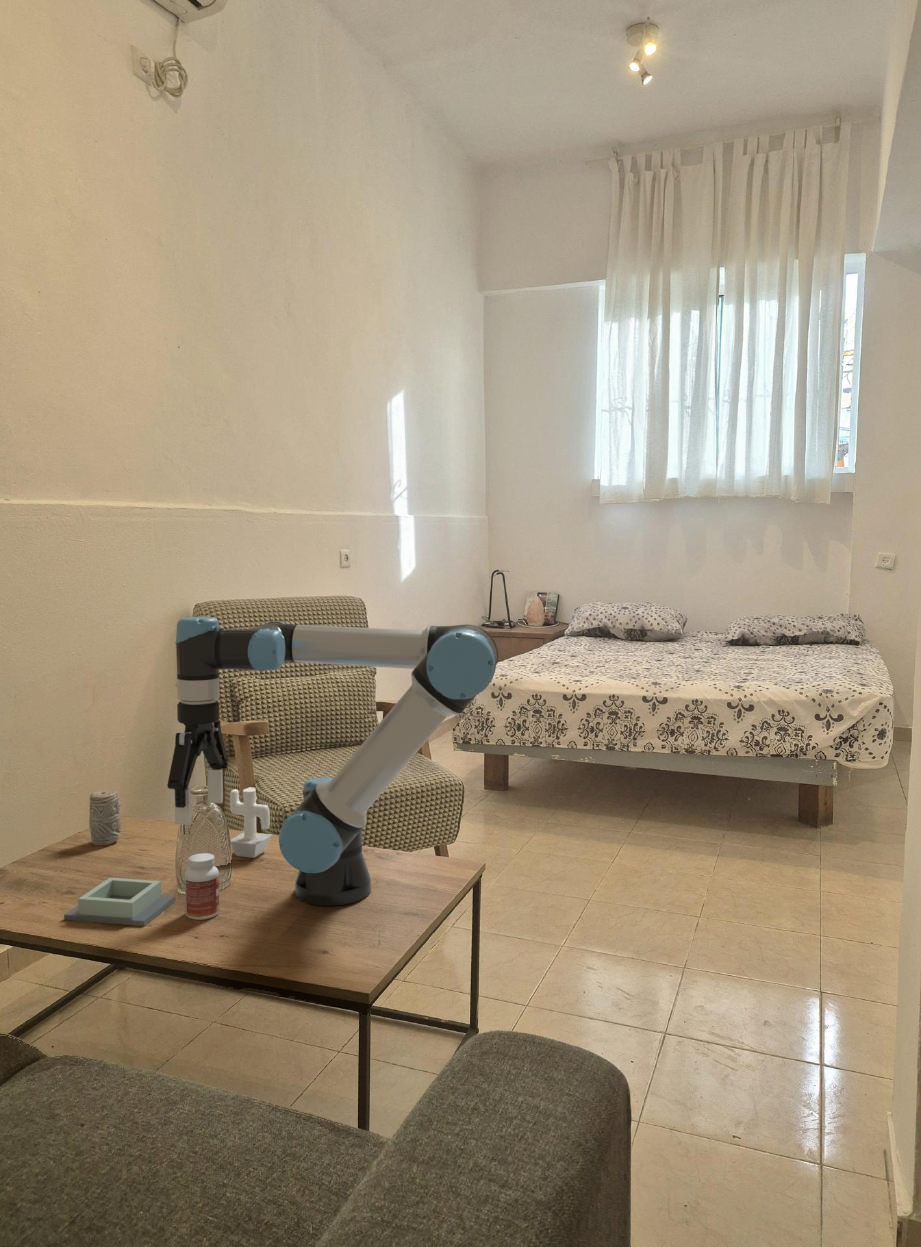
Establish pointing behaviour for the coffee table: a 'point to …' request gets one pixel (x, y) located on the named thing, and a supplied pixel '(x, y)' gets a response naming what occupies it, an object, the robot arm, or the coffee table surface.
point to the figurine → (250, 824)
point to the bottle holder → (121, 902)
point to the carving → (104, 817)
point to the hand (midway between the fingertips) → (200, 812)
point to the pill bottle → (201, 887)
